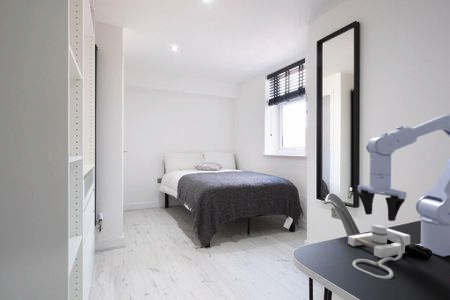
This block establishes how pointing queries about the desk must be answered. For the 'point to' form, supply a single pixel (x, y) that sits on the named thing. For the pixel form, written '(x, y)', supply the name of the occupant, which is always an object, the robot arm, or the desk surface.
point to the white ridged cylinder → (379, 235)
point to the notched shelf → (382, 249)
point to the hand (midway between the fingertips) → (379, 217)
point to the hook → (382, 261)
